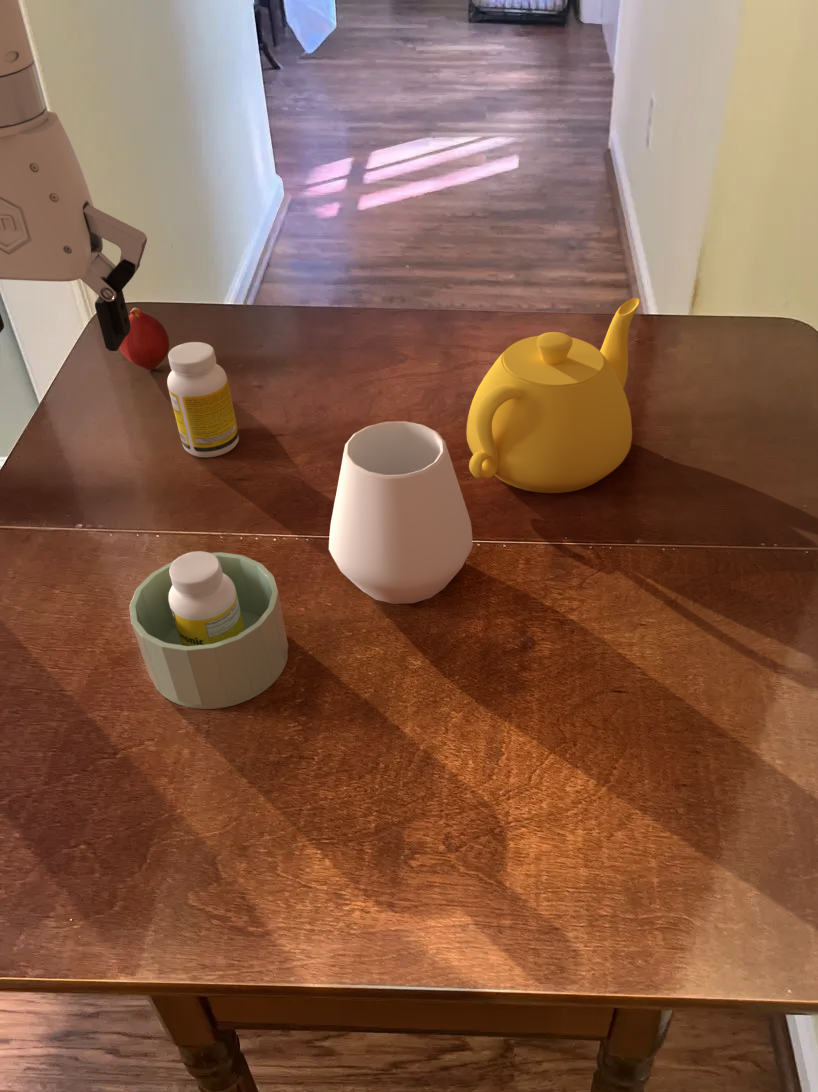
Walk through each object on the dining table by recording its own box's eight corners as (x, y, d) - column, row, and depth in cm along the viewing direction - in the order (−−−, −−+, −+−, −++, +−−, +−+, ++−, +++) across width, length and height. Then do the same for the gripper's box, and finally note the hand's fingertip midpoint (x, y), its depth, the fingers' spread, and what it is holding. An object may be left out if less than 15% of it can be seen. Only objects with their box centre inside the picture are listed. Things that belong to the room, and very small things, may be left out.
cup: (316, 611, 90) (297, 486, 80) (350, 522, 99) (337, 400, 89) (461, 626, 88) (460, 501, 78) (482, 534, 98) (483, 412, 88)
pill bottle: (250, 436, 110) (233, 345, 102) (218, 465, 106) (197, 372, 98) (205, 423, 112) (185, 333, 104) (171, 451, 108) (147, 359, 100)
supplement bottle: (174, 649, 85) (147, 563, 78) (229, 622, 88) (208, 536, 81) (204, 684, 82) (180, 598, 75) (261, 655, 85) (242, 569, 78)
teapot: (568, 379, 119) (577, 269, 109) (687, 437, 110) (708, 323, 101) (416, 462, 106) (410, 346, 97) (536, 535, 98) (543, 415, 88)
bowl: (133, 708, 81) (111, 648, 76) (169, 610, 90) (151, 550, 85) (275, 711, 81) (262, 652, 76) (298, 612, 89) (288, 553, 85)
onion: (128, 359, 122) (111, 297, 116) (175, 355, 123) (161, 294, 117) (125, 383, 118) (107, 320, 112) (174, 378, 119) (159, 316, 113)
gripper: (-182, 109, 61) (-78, 359, 73) (95, 120, 61) (153, 369, 73) (-125, 73, 66) (-37, 312, 78) (130, 83, 66) (179, 321, 78)
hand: (55, 339), depth 76 cm, fingers open, 9 cm apart
